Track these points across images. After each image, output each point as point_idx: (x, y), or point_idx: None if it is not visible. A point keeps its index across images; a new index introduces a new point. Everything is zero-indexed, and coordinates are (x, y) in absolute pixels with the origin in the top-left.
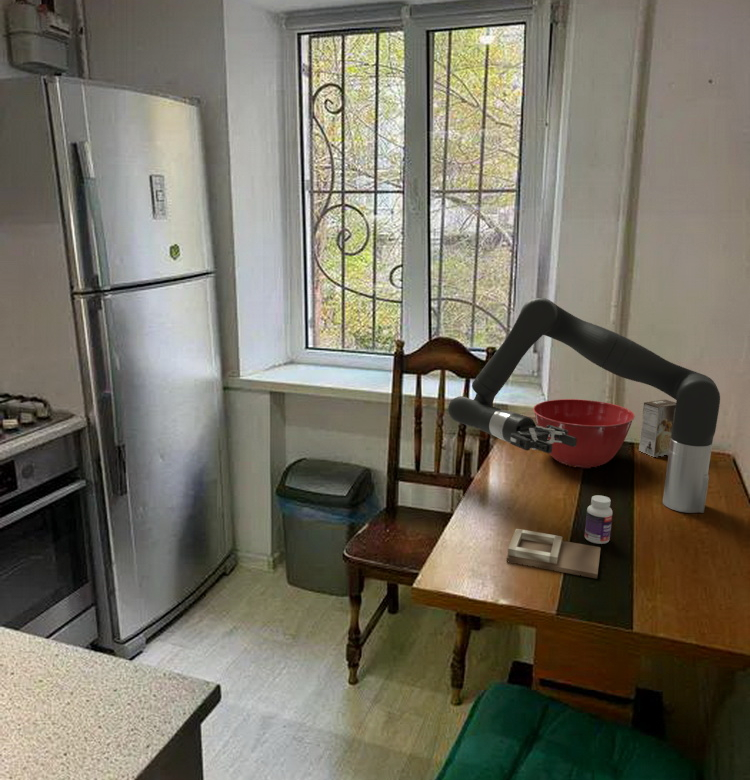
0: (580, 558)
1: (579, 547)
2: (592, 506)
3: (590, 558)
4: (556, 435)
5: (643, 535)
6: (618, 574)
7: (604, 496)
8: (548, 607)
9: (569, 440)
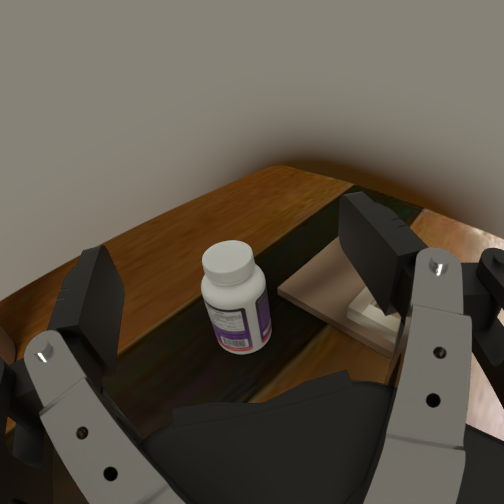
0: (341, 267)
1: (319, 295)
2: (251, 276)
3: (323, 265)
4: (35, 470)
5: (145, 317)
6: (299, 243)
7: (205, 263)
8: (429, 215)
9: (105, 292)
